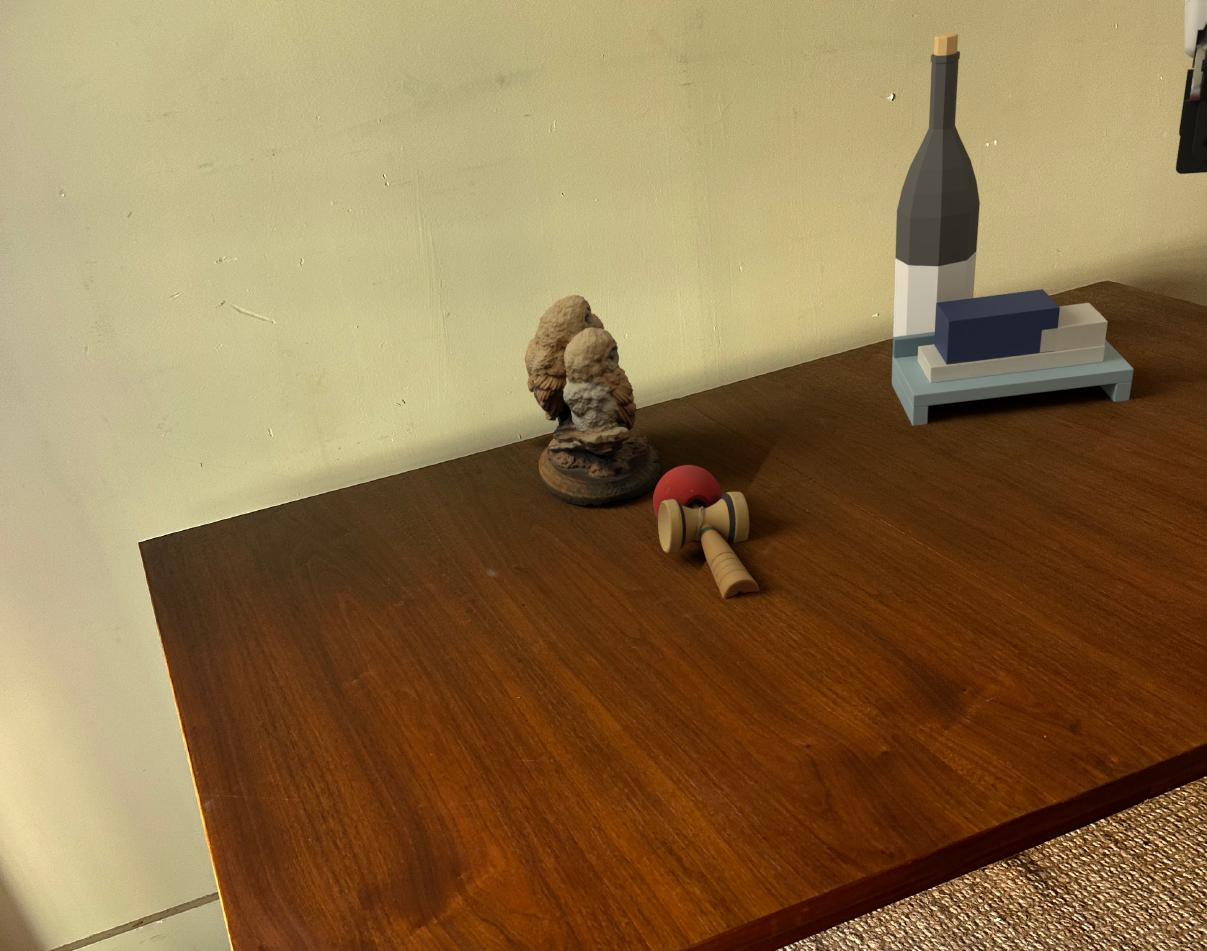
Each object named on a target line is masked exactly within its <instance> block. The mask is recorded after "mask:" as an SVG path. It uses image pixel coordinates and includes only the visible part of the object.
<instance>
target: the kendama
mask: <svg viewBox="0 0 1207 951" xmlns="http://www.w3.org/2000/svg"><path fill="white" fill-rule="evenodd" d="M652 507H653V512H654V515H655V517H656V519H657V529H658V537H659V543H660V546H661V549H662V550H663V552H664V553H666V554H678V553H679V552H680V551H681V550H682V549H683V548H684V547H685V546H686V545H687V544H688V543H690V542H693V541H697V542H701V547H702V549H703V553H704V556H705V560H706V562H707V564H708V567H709V569H710V571H711V574H712V577H713V579H714V581H715V583H716V585H717V588H718V590H719V592H720V595H721V598H722V599H723V600H727V599H728V598H730V597H733V596H735V595H738V593H739V594H744V593H749V592H750V593H751V592H753V593H755V592H756V593H757V592H760V587H759V585H758V583H757V581H755V579H754V578H753V576H751V574H750V573H749V571H748V570H747V569H746V567H745V566H744V564H743V563H742V561H741V560H740V559H739V557H738V556H737V554H736V552H734V550H733V549H732V548H731V546H730V545H729V543H728V542H731V543H740V542H745V541H747V540H748V539H749V534H750V512H749V506H748V504H747V499H746V497H745V496H744V494H743V493H742V492H741V491H728V492H725V493H724V494H723V493H722V490H721V486H720V484H719V483H718V480H717V479H716V478H715V477H714V475H713V474H712V473H711V472H709V471H708V470H706V469H705V468H703V467H701V466H697V465H693V464H684V465H679V466H676V467H674V468H672V469H670V470H669V471H667V472H666V473H664V474H663V476H662V477H661V478H659V480H658V481H657V483H656V485H655V489H654V492H653V497H652Z"/></svg>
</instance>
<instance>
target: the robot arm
mask: <svg viewBox="0 0 1207 951" xmlns="http://www.w3.org/2000/svg"><path fill="white" fill-rule="evenodd" d="M1183 24H1184V25H1183V26H1184V27H1183V28H1184V32H1183V34H1184V35H1183V36H1184V53H1185V54H1186V55H1187V56H1188V57H1189V58H1191V59H1192V65H1191V68H1189V69H1187V72H1186V79H1185V84H1184V85H1185V87H1184V92H1183V100H1182V107H1181V114H1180V122H1179V128H1178V129H1179V130H1178V135H1179V140H1178V141H1179V142H1178V148H1177V154H1176V162H1175V171H1176V173H1177V174H1179V175H1187V174H1205V173H1207V0H1184V22H1183Z"/></svg>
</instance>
